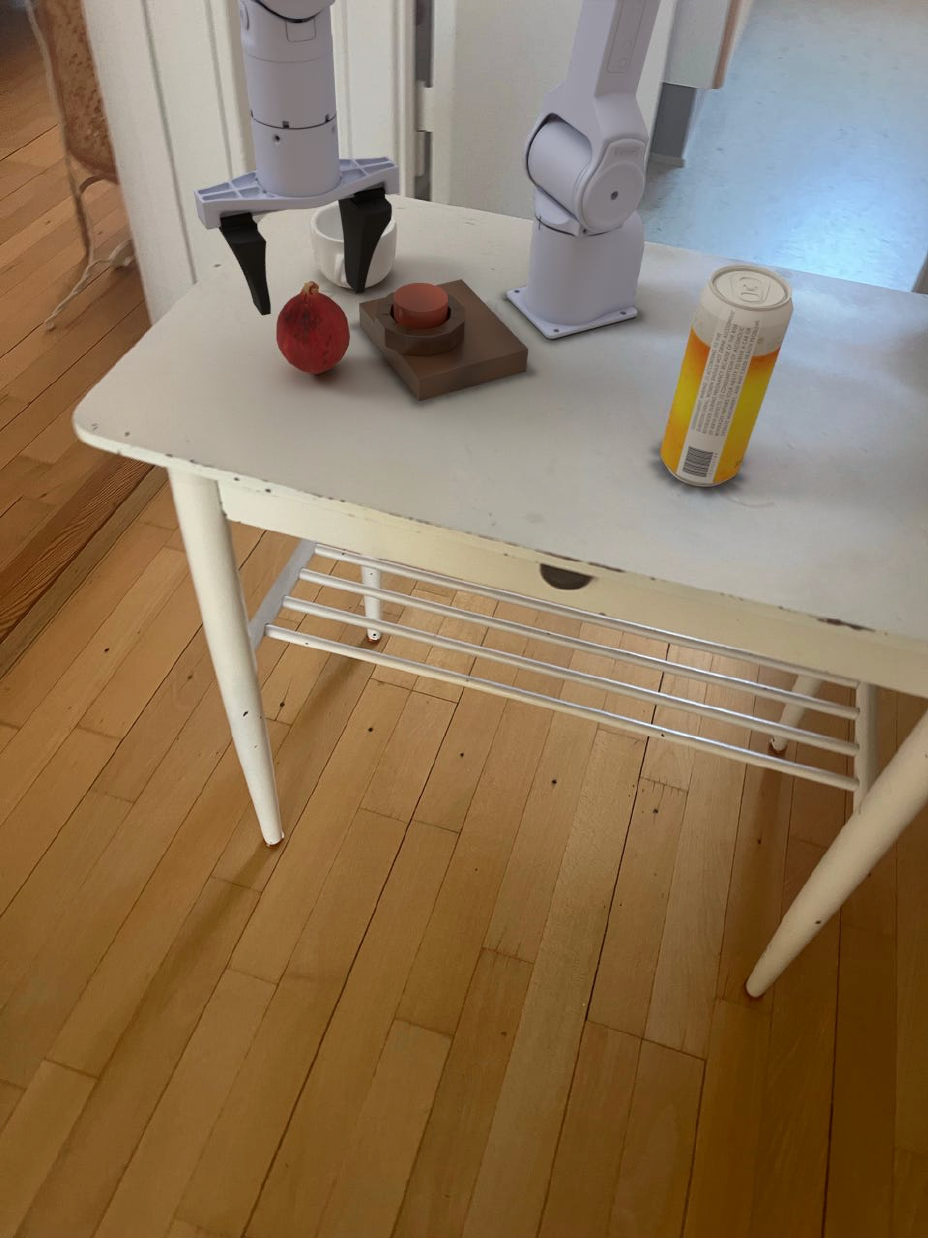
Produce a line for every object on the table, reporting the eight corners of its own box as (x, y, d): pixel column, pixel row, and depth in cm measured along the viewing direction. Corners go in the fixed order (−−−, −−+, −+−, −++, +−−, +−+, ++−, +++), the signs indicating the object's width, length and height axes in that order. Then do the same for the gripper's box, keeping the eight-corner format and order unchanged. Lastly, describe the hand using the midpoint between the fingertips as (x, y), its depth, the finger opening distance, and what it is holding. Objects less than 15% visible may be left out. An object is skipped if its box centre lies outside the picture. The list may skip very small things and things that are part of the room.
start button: (432, 296, 80) (433, 277, 79) (456, 323, 78) (457, 304, 76) (385, 308, 79) (384, 289, 77) (407, 335, 76) (407, 316, 75)
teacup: (326, 250, 91) (322, 195, 87) (405, 260, 91) (404, 205, 87) (297, 305, 85) (292, 248, 81) (381, 316, 84) (380, 259, 80)
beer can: (739, 447, 74) (798, 269, 63) (736, 498, 71) (798, 317, 59) (662, 434, 75) (706, 255, 64) (654, 483, 71) (700, 301, 60)
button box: (460, 300, 87) (462, 259, 84) (526, 371, 80) (530, 329, 77) (352, 327, 83) (350, 285, 80) (411, 403, 76) (411, 360, 73)
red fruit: (340, 399, 76) (333, 309, 70) (271, 388, 77) (259, 298, 71) (359, 358, 80) (355, 270, 74) (294, 348, 81) (284, 259, 75)
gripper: (369, 74, 68) (374, 254, 78) (168, 104, 63) (201, 291, 73) (412, 112, 64) (411, 297, 74) (200, 147, 59) (231, 339, 69)
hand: (309, 297), depth 73 cm, fingers open, 7 cm apart
